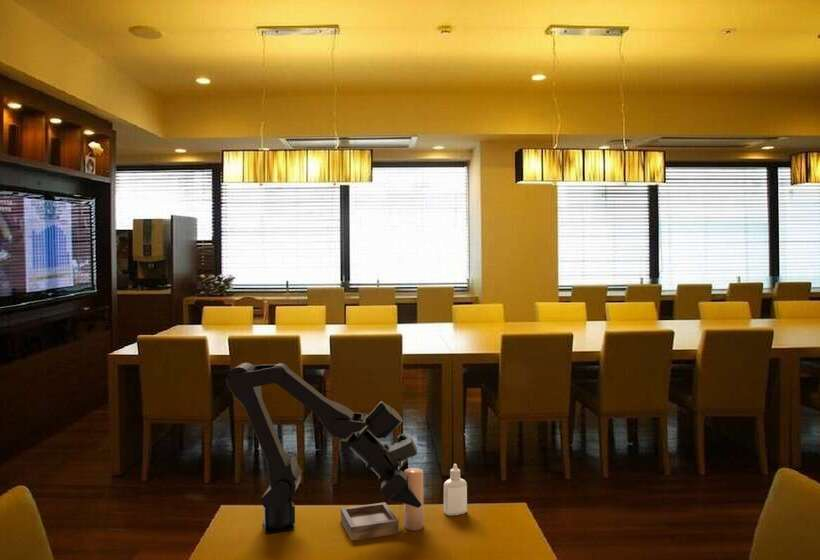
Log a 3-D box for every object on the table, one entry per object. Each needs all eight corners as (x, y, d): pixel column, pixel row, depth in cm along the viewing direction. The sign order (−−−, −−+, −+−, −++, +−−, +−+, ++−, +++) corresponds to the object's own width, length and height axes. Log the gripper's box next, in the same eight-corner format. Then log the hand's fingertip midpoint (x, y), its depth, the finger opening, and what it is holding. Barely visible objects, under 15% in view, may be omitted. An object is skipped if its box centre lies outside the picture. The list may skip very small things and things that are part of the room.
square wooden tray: (351, 540, 140) (351, 527, 140) (340, 520, 151) (340, 508, 151) (398, 533, 144) (398, 520, 144) (385, 514, 154) (385, 502, 154)
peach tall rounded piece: (407, 531, 145) (407, 475, 144) (402, 523, 149) (401, 469, 148) (426, 528, 146) (425, 473, 146) (419, 521, 150) (419, 467, 150)
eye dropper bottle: (466, 517, 153) (466, 467, 152) (443, 515, 153) (442, 466, 153) (467, 509, 157) (467, 461, 156) (444, 508, 158) (444, 460, 157)
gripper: (395, 439, 137) (446, 489, 138) (397, 416, 156) (442, 460, 156) (359, 475, 138) (410, 525, 138) (365, 448, 156) (410, 492, 157)
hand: (419, 498), depth 147 cm, fingers open, 9 cm apart
